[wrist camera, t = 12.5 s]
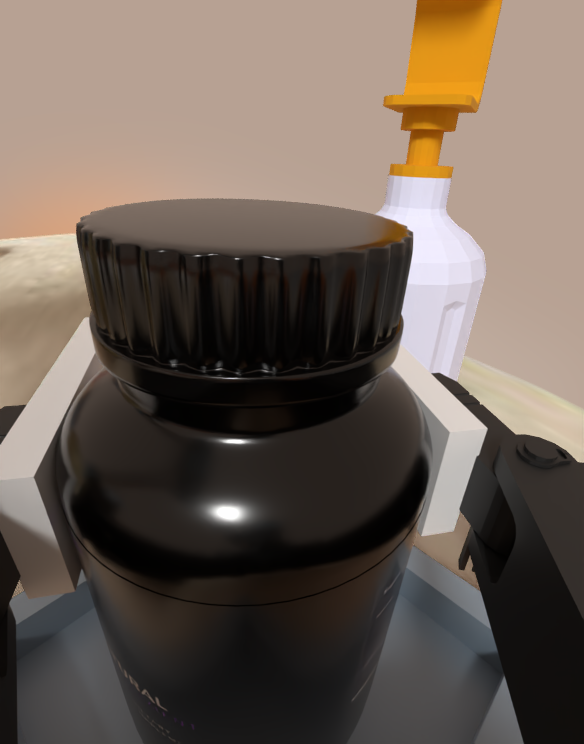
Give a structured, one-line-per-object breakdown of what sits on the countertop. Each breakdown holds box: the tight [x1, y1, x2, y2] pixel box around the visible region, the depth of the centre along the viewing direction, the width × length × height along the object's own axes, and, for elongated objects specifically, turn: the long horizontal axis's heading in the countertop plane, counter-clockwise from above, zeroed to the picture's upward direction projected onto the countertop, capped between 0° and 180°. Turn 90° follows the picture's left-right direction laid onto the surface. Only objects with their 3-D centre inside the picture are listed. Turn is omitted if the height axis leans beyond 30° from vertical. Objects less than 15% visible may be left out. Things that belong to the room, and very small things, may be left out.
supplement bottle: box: [55, 199, 433, 744], centre depth 9 cm, size 7×7×12 cm
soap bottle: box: [375, 0, 502, 381], centre depth 23 cm, size 9×9×25 cm
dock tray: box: [9, 546, 524, 744], centre depth 12 cm, size 13×13×2 cm
